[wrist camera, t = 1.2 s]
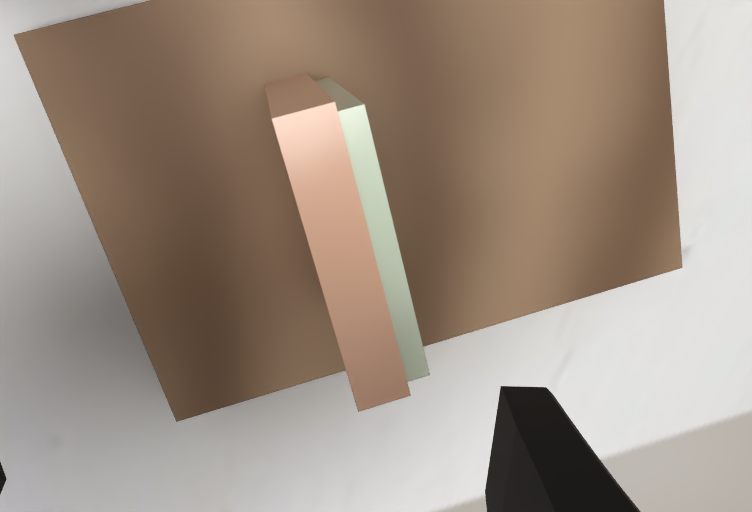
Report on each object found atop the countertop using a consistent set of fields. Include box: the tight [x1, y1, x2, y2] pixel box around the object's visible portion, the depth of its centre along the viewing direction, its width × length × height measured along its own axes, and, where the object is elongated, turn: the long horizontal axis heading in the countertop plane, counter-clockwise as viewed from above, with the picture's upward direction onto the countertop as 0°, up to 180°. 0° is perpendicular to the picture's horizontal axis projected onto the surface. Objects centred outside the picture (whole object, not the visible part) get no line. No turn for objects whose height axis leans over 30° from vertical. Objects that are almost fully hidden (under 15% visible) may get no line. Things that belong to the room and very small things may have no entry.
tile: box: [265, 74, 430, 412], centre depth 15 cm, size 2×6×6 cm, turn 14°
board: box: [14, 0, 682, 422], centre depth 19 cm, size 16×11×1 cm
